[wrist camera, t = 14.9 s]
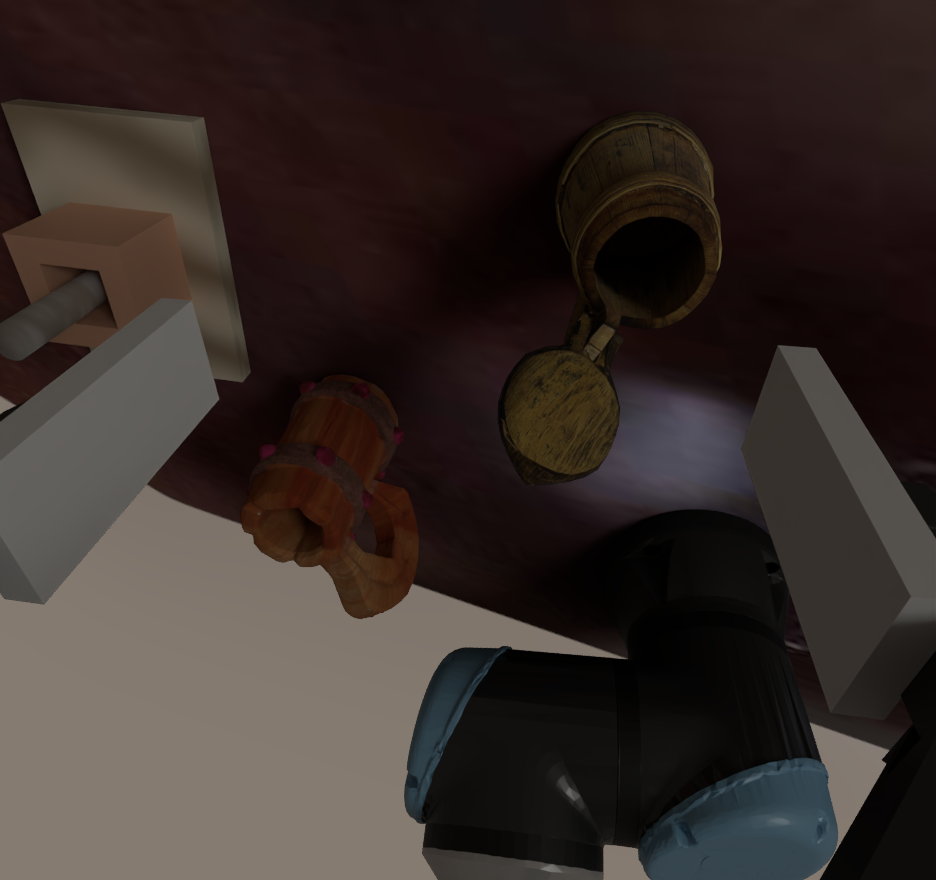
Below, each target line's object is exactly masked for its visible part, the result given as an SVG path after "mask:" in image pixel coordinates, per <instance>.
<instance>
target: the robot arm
mask: <svg viewBox="0 0 936 880" xmlns="http://www.w3.org/2000/svg"><path fill="white" fill-rule="evenodd" d="M218 400H219V397H218V393H217V389H216V386H215V382H214V378H213V375H212V371H211V368H210V364H209V360H208V357H207V353H206V350H205V346H204V342H203V339H202V335H201V332H200V328H199V324H198V321H197V317H196V314H195V310H194V306H193V303H192V300H181V299H168V298H161V299H159V300H158V301H157V302H155V303H154V304H153V305H151V306H150V307H149V308H148V309H146V310H145V311H144V312H142V313H141V314H140V315H138V316H137V317H136V318H135V319H133V320H132V321H131V322H129V323H128V324H127V325H125V326H124V327H123V328H122V329H120V330H119V331H118V332H116V333H115V334H114V335H112V336H111V337H110V338H109V339H107V340H106V341H105V342H103V343H102V344H101V345H100V346H98V347H97V348H96V349H94V350H93V351H92V352H90V353H89V354H88V355H87V356H85V357H84V358H83V359H81V360H80V361H79V362H77V363H76V364H75V365H74V366H72V367H71V368H70V369H68V370H67V371H66V372H64V373H63V374H62V375H61V376H59V377H58V378H57V379H55V380H54V381H53V382H51V383H50V384H49V385H48V386H46V387H45V388H44V389H42V390H41V391H40V392H38V393H37V394H36V395H35V396H33V397H32V398H31V399H29V400H27V401H25V402H23V403H21V404H19V405H17V406H15V407H13V408H11V409H9V410H6V411H4V412H3V413H2V414H0V593H1V595H2V596H3V598H4V599H8V600H15V601H23V602H30V603H37V604H45V603H46V602H47V600H48V599H49V598H50V597H51V596H52V595H53V593H54V592H55V591H56V590H57V589H58V587H59V586H60V585H61V584H62V583H63V582H64V580H65V579H66V578H67V577H68V576H69V575H70V573H71V572H72V571H73V570H74V569H75V568H76V566H77V565H78V564H79V563H80V562H81V561H82V559H83V558H84V557H85V556H86V555H87V553H88V552H89V551H90V550H91V549H92V548H93V546H94V545H95V544H96V543H97V542H98V541H99V539H100V538H101V537H102V536H103V535H104V534H105V532H106V531H107V530H108V529H109V528H110V526H111V525H112V524H113V523H114V522H115V521H116V519H117V518H118V517H119V516H120V515H121V514H122V512H123V511H124V510H125V509H126V508H127V507H128V505H129V504H130V503H131V502H132V501H133V500H134V498H135V497H136V496H137V495H138V494H139V493H140V491H141V490H142V489H143V488H144V486H145V485H146V484H147V483H148V482H149V481H150V480H151V478H152V477H153V476H154V475H155V474H156V473H157V471H158V470H159V469H160V468H161V467H162V466H163V464H164V463H165V462H166V461H167V460H168V459H169V457H170V456H171V455H172V454H173V453H174V451H175V450H176V449H177V448H178V447H179V446H180V444H181V443H182V442H183V441H184V440H185V439H186V437H187V436H188V435H189V434H190V433H191V432H192V430H193V429H194V428H195V427H196V426H197V425H198V423H199V422H200V421H201V420H202V419H203V417H204V416H205V415H206V414H207V413H208V412H209V410H210V409H211V408H212V407H213V406H214V405H215V403H216V402H217V401H218ZM741 449H742V452H743V455H744V458H745V461H746V464H747V467H748V470H749V473H750V476H751V479H752V482H753V485H754V488H755V491H756V494H757V496H758V499H759V502H760V505H761V508H762V511H763V514H764V517H765V520H766V523H767V526H768V529H769V532H770V535H771V536H770V535H769V534H768V533H766V532H765V531H764V530H763V529H761V528H760V527H758V526H757V525H755V524H753V523H751V522H749V521H747V520H745V519H742V518H740V517H737V516H733V515H730V514H725V513H720V512H713V511H680V512H673V513H668V514H664V515H660V516H657V517H653V518H651V519H648V520H645V521H643V522H641V523H639V524H637V525H635V526H633V527H632V528H630V529H629V530H627V531H626V532H624V533H623V534H622V535H621V536H620V537H619V538H618V539H617V540H616V541H615V542H614V543H613V544H612V546H611V547H610V548H609V550H608V552H607V554H606V556H605V559H604V563H603V591H604V596H605V600H606V603H607V606H608V608H609V610H610V613H611V615H612V617H613V619H614V621H615V624H616V626H617V628H618V630H619V633H620V635H621V637H622V639H623V641H624V644H625V646H626V648H627V650H628V659H616V658H606V657H594V656H583V655H571V654H559V653H547V652H534V651H524V650H512V648H511V647H508V646H502V647H500V648H460V649H457V650H454V651H453V652H451V653H449V654H448V655H447V656H446V657H445V658H444V659H443V660H442V662H441V663H440V665H439V666H438V668H437V669H436V671H435V672H434V674H433V676H432V679H431V681H430V683H429V685H428V688H427V690H426V693H425V695H424V699H423V701H422V704H421V707H420V710H419V714H418V717H417V721H416V724H415V728H414V732H413V737H412V741H411V746H410V750H409V756H408V762H407V770H408V775H407V779H406V784H405V791H404V798H405V799H404V800H405V807H406V811H407V813H408V814H409V816H410V817H412V818H414V819H415V820H416V821H417V822H418V823H420V824H426V826H425V834H424V842H423V850H422V854H423V856H424V857H425V859H426V861H427V863H428V864H429V866H430V867H431V869H432V871H433V872H434V874H435V876H436V877H437V879H438V880H603V874H604V873H603V847H604V845H617V846H625V847H632V848H637V849H638V855H639V861H640V862H641V863H642V865H643V868H644V871H645V872H646V874H647V876H648V877H649V878H650V879H651V880H803V879H806V878H808V877H809V876H811V875H813V874H814V873H816V872H817V871H818V870H820V869H821V868H822V867H823V866H824V865H825V864H826V863H827V862H828V861H829V860H830V858H831V857H832V855H833V854H834V851H835V849H836V846H837V841H838V828H837V822H836V818H835V814H834V810H833V806H832V802H831V798H830V794H829V790H828V786H827V785H828V772H827V770H826V768H825V765H824V764H823V763H822V761H821V758H820V755H819V752H818V749H817V745H816V742H815V739H814V735H813V732H812V729H811V726H810V723H809V719H808V716H807V713H806V710H805V707H804V703H803V700H802V697H801V694H800V691H799V687H798V684H797V681H796V678H795V674H794V671H793V668H792V665H791V662H790V659H789V656H788V652H787V649H786V645H785V642H784V637H785V628H786V618H787V608H788V598H789V591H790V594H791V597H792V600H793V603H794V606H795V609H796V612H797V615H798V618H799V621H800V624H801V627H802V630H803V633H804V636H805V639H806V642H807V645H808V648H809V650H810V653H811V656H812V659H813V662H814V665H815V668H816V671H817V674H818V677H819V680H820V683H821V686H822V689H823V692H824V695H825V698H826V701H827V704H828V707H829V710H830V713H836V714H843V715H850V716H857V717H865V718H872V719H879V720H884V719H885V718H886V717H887V716H888V714H889V713H890V712H891V711H892V709H893V708H894V707H895V706H896V704H897V703H898V702H899V701H900V699H901V698H902V700H903V702H904V704H905V706H906V709H907V711H908V713H909V715H910V718H911V720H912V722H913V724H912V725H911V727H910V728H909V729H908V730H907V731H906V732H905V734H904V735H903V736H902V737H901V738H900V739H899V740H898V742H897V743H896V744H895V745H894V746H893V747H892V749H891V750H890V751H889V752H888V753H887V754H886V756H885V757H884V758H883V759H882V761H884V762H885V763H886V766H885V768H884V769H883V771H882V773H881V775H880V776H879V778H878V780H877V782H876V783H875V785H874V787H873V788H872V790H871V792H870V794H869V795H868V797H867V799H866V800H865V802H864V804H863V806H862V807H861V809H860V811H859V813H858V814H857V816H856V818H855V820H854V821H853V823H852V825H851V826H850V828H849V830H848V832H847V833H846V835H845V837H844V839H843V840H842V842H841V844H840V845H839V847H838V849H837V851H836V852H835V854H834V856H833V858H832V859H831V861H830V863H829V864H828V866H827V868H826V870H825V871H824V873H823V875H822V877H821V878H820V880H936V493H935V492H934V491H933V490H931V489H930V488H929V487H928V486H926V485H925V484H920V483H910V482H900V481H899V479H898V478H897V476H896V475H895V473H894V471H893V470H892V468H891V467H890V465H889V464H888V462H887V460H886V459H885V457H884V456H883V454H882V452H881V451H880V449H879V448H878V446H877V444H876V443H875V441H874V440H873V438H872V436H871V435H870V433H869V432H868V430H867V428H866V427H865V425H864V424H863V422H862V421H861V419H860V417H859V416H858V414H857V413H856V411H855V409H854V408H853V406H852V405H851V403H850V401H849V400H848V398H847V397H846V395H845V393H844V392H843V390H842V389H841V387H840V386H839V384H838V382H837V381H836V379H835V378H834V376H833V374H832V373H831V371H830V370H829V368H828V366H827V365H826V363H825V362H824V360H823V358H822V357H821V355H820V354H819V352H818V350H817V349H816V348H805V347H792V346H779V345H778V347H777V350H776V352H775V355H774V358H773V361H772V364H771V367H770V369H769V372H768V375H767V378H766V381H765V383H764V386H763V389H762V392H761V395H760V398H759V400H758V403H757V406H756V409H755V412H754V414H753V417H752V420H751V423H750V426H749V429H748V431H747V434H746V437H745V440H744V443H743V445H742V448H741Z"/></svg>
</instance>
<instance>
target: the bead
mask: <svg viewBox="0 0 936 880" xmlns="http://www.w3.org/2000/svg"><path fill="white" fill-rule="evenodd" d="M3 237H4V239H5V241H6V244H7V246H8V249H9V251H10V254H11V256H12V259H13V261H14V263H15V266H16V268H17V271H18V273H19V276H20V278H21V281H22V283H23V285H24V288H25V290H26V293H27V295H28V298H29V300H30V303H31V304H33V303H34V302H36V301H37V300H39V299H41V298H42V297H44V296H46V295H47V294H49V293H51V292H52V291H54V290H55V289H57V288H59V287H60V286H62V285H64V284H65V283H67V282H68V281H70V280H72V279H73V278H75V277H77V276H78V275H80V274H81V273H83V272H85V271H86V270H96V271H99V272H100V275H101V278H102V281H103V284H104V287H105V290H106V294H107V297H108V300H107V301H105V302H104V303H103V304H101V305H100V306H98V307H97V308H95V309H94V310H93V311H91V312H90V313H88V314H87V315H85V316H84V317H83V318H81V319H80V320H78V321H77V322H76V323H74V324H73V325H71V326H70V327H68V328H67V329H66V330H64V331H63V332H61V333H60V334H58V335H57V336H56V337H54V338H53V339H51V340H50V341H49V342H56V343H64V344H71V345H79V346H87V347H94V348H97V347H98V346H100V345H101V344H102V343H103V342H105V341H106V340H107V339H109V338H110V337H111V336H112V335H114V334H115V333H116V332H118V331H119V330H120V329H122V328H123V327H124V326H125V325H127V324H128V323H129V322H131V321H132V320H133V319H135V318H136V317H137V316H138V315H140V314H141V313H142V312H144V311H145V310H146V309H148V308H149V307H150V306H151V305H153V304H154V303H155V302H157V301H158V300H159V299H161V298H168V299H181V300H192V297H191V292H190V288H189V284H188V280H187V275H186V271H185V267H184V262H183V258H182V254H181V250H180V245H179V241H178V237H177V232H176V228H175V224H174V220H173V215H172V214H170V213H161V212H152V211H143V210H134V209H125V208H116V207H107V206H99V205H90V204H81V203H72V202H70V203H68V204H65V205H63V206H61V207H59V208H57V209H55V210H52V211H50V212H48V213H46V214H44V215H42V216H39V217H37V218H35V219H33V220H31V221H29V222H26V223H24V224H22V225H20V226H18V227H16V228H13V229H11V230H9V231H7V232H5V233H3ZM192 303H193V301H192ZM193 306H194V305H193ZM194 310H195V309H194Z"/></svg>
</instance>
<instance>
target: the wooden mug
mask: <svg viewBox="0 0 936 880" xmlns="http://www.w3.org/2000/svg"><path fill="white" fill-rule="evenodd" d="M713 197H714V190H713V166H712V163H711V161H710V159H709V157H708V154H707V152H706V150H705V147H704V146H703V145H702V143H701V142H700V140H699V139H698V138H697V136H696V135H695V133H694V132H693V131H692V130H691V129H689V128H688V127H687V126H685V125H684V124H682V123H681V122H680V121H678V120H677V119H675V118H672V117H669V116H666V115H663V114H660V113H658V112H645V111H632V112H628V113H624V114H620V115H616V116H612V117H610V118H608V119H606V120H605V121H603V122H601V123H599V124H597V125H596V126H594V127H592V128H591V129H590V130H589V131H588V132H587V133H586V134H585V135H584V136H583V137H582V139H581V140H580V141H579V142H578V143H577V144H576V146H575V147H574V149H573V151H572V152H571V154H570V156H569V157H568V159H567V161H566V162H565V164H564V167H563V170H562V172H561V175H560V177H559V180H558V186H557V192H556V198H555V206H556V216H557V224H558V227H559V229H560V232H561V234H562V237H563V239H564V241H565V244H566V246H567V249H568V250H569V252H570V253H571V262H572V272H573V276H574V279H575V281H576V284H577V286H578V289H579V294H578V297H577V300H576V303H575V306H574V309H573V312H572V315H571V318H570V322H569V325H568V328H567V331H566V335H565V338H564V344H563V345H561V346H546V347H544V348H541V349H538V350H535V351H533V352H530V353H527V354H525V355H524V356H523V358H522V359H521V360H520V361H519V362H518V363H517V364H516V365H515V367H514V368H513V370H512V371H511V372H510V374H509V375H508V377H507V379H506V381H505V383H504V386H503V388H502V391H501V395H500V398H499V402H498V424H499V429H500V435H501V439H502V442H503V444H504V447H505V450H506V452H507V454H508V456H509V458H510V460H511V462H512V464H513V465H514V467H515V469H516V471H517V473H518V474H519V476H520V477H521V479H522V480H523V482H524V483H525V485H550V484H556V483H563V482H569V481H573V480H576V479H580V478H584V477H586V476H588V475H589V474H591V473H593V472H594V471H596V470H598V468H599V467H600V465H601V464H602V462H603V461H604V459H605V458H606V456H607V455H608V453H609V452H610V449H611V446H612V444H613V441H614V439H615V436H616V432H617V428H618V426H619V415H620V406H619V402H618V397H617V393H616V390H615V387H614V383H613V380H612V377H611V374H610V371H609V370H610V367H611V364H612V362H613V359H614V357H615V354H616V352H617V350H618V349H619V347H620V345H621V344H622V342H623V340H624V339H623V338H622V337H621V336H619V335H618V334H617V333H616V332H615V331H616V330H617V329H618V326H619V325H623V326H628V327H633V328H645V329H653V328H661V327H666V326H668V325H670V324H672V323H675V322H677V321H679V320H681V319H682V318H683V317H685V316H686V315H687V314H689V313H690V312H691V311H692V310H693V309H694V308H695V307H696V306H697V305H698V304H699V303H700V302H701V301H702V300H703V299H704V298H705V297H706V295H707V293H708V291H709V290H710V288H711V286H712V284H713V282H714V280H715V279H716V275H717V270H718V268H719V266H720V260H721V253H722V244H721V230H720V217H719V214H718V211H717V209H716V206H715V203H714V201H713Z"/></svg>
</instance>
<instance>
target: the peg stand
mask: <svg viewBox="0 0 936 880" xmlns="http://www.w3.org/2000/svg"><path fill="white" fill-rule="evenodd" d="M1 105H2V108H3V111H4V113H5V116H6V119H7V122H8V124H9V127H10V130H11V133H12V135H13V138H14V141H15V144H16V147H17V149H18V152H19V155H20V158H21V160H22V163H23V166H24V169H25V171H26V174H27V177H28V180H29V182H30V185H31V188H32V191H33V193H34V196H35V199H36V202H37V204H38V207H39V210H40V213H41V215H44V214H46V213H48V212H50V211H52V210H55V209H57V208H59V207H61V206H63V205H65V204H68V203H70V202H72V203H81V204H90V205H99V206H107V207H116V208H125V209H134V210H143V211H152V212H161V213H170V214H172V215H173V220H174V224H175V228H176V232H177V237H178V241H179V245H180V250H181V254H182V258H183V262H184V267H185V271H186V275H187V280H188V284H189V288H190V292H191V297H192V301H193V305H194V309H195V314H196V317H197V321H198V324H199V328H200V332H201V335H202V339H203V342H204V346H205V350H206V353H207V357H208V360H209V364H210V368H211V371H212V375H213V378H215V379H222V380H230V381H237V382H243V381H244V380H245V379H246V377H247V376H248V375H249V374H250V372H251V371H250V365H249V360H248V354H247V349H246V343H245V338H244V333H243V327H242V322H241V316H240V311H239V306H238V300H237V295H236V289H235V284H234V278H233V273H232V268H231V262H230V257H229V251H228V246H227V240H226V235H225V230H224V224H223V219H222V213H221V208H220V203H219V197H218V192H217V186H216V181H215V175H214V170H213V165H212V159H211V154H210V148H209V143H208V138H207V132H206V127H205V121H204V117H195V116H184V115H174V114H164V113H154V112H144V111H134V110H124V109H114V108H104V107H94V106H84V105H74V104H64V103H53V102H43V101H33V100H23V99H17V100H13V101H8V102H4V103H1ZM107 300H108V297H107V294H106V290H105V287H104V284H103V281H102V278H101V275H100V272H99V271H96V270H86V271H85V272H83V273H81V274H80V275H78V276H77V277H75V278H73V279H72V280H70V281H68V282H67V283H65V284H64V285H62V286H60V287H59V288H57V289H55V290H54V291H52V292H51V293H49V294H47V295H46V296H44V297H42V298H41V299H39V300H37V301H36V302H34V303H33V304H31V305H29V306H28V307H26V308H24V309H23V310H21V311H20V312H18V313H16V314H15V315H13V316H11V317H10V318H8V319H7V320H5V321H3V322H2V323H0V354H1V355H3V356H4V357H6V358H8V359H11V360H15V361H20V360H23V359H24V358H26V357H27V356H29V355H30V354H31V353H33V352H34V351H36V350H37V349H39V348H40V347H41V346H43V345H44V344H46V343H47V342H49V341H50V340H51V339H53V338H54V337H56V336H57V335H58V334H60V333H61V332H63V331H64V330H66V329H67V328H68V327H70V326H71V325H73V324H74V323H76V322H77V321H78V320H80V319H81V318H83V317H84V316H85V315H87V314H88V313H90V312H91V311H93V310H94V309H95V308H97V307H98V306H100V305H101V304H103V303H104V302H105V301H107ZM89 348H90V351H91V352H92V351H93V350H94V349H96V348H94V347H89Z"/></svg>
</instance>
